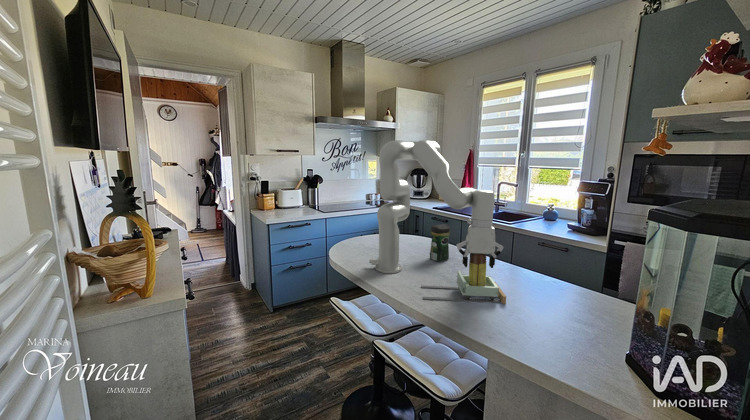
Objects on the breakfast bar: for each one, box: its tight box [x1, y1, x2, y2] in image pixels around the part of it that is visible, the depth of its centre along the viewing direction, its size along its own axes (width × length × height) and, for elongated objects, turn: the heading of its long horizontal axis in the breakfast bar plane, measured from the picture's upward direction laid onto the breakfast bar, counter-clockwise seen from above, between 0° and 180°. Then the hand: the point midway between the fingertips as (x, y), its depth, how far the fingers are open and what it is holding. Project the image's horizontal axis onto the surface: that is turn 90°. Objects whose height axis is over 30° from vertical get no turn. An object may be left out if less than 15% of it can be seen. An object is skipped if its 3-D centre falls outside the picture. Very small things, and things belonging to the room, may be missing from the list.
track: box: [420, 281, 507, 305], centre depth 118 cm, size 30×13×3 cm, turn 86°
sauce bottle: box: [468, 253, 487, 286], centre depth 116 cm, size 7×6×20 cm
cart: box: [456, 270, 500, 300], centre depth 117 cm, size 13×11×7 cm
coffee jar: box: [429, 223, 451, 263], centre depth 156 cm, size 10×8×19 cm
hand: (478, 266), depth 116 cm, fingers open, 9 cm apart
